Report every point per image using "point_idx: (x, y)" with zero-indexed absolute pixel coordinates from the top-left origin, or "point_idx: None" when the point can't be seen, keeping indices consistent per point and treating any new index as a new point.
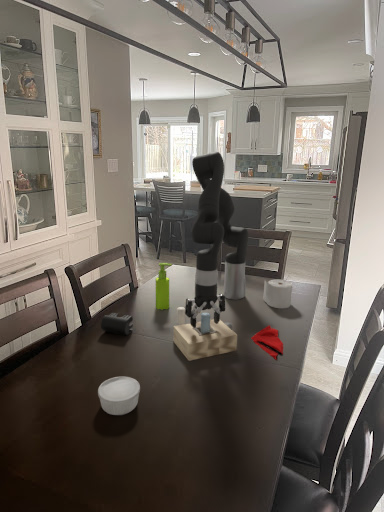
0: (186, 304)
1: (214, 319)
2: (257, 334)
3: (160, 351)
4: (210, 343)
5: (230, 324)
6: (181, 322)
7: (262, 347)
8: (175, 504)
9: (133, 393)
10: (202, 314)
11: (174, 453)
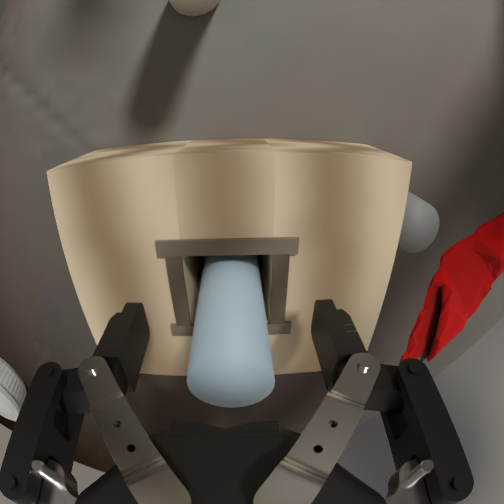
0: (18, 456)
1: (320, 319)
2: (475, 239)
3: (37, 222)
4: None
5: (427, 235)
6: (181, 3)
7: (420, 323)
8: (98, 469)
9: (15, 417)
10: (201, 378)
11: (93, 452)
